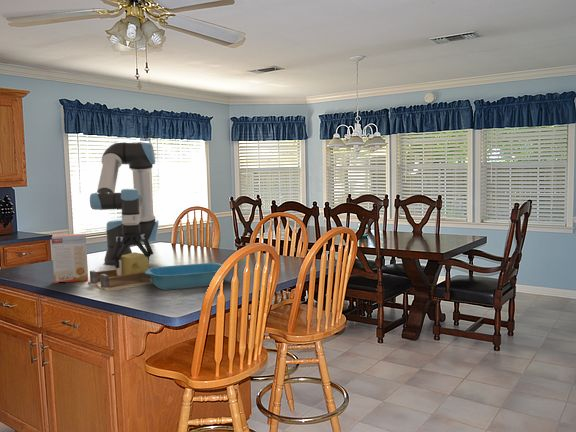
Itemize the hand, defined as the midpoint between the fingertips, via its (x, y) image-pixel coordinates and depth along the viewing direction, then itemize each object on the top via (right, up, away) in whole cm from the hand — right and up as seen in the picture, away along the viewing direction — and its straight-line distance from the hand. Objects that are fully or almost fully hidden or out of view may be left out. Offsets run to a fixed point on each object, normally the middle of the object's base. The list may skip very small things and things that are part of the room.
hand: (133, 273), depth 228 cm
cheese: (0, -2, 0) cm, 2 cm away
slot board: (-2, -4, -1) cm, 4 cm away
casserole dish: (+26, -4, -6) cm, 27 cm away
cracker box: (-28, -4, +3) cm, 29 cm away
